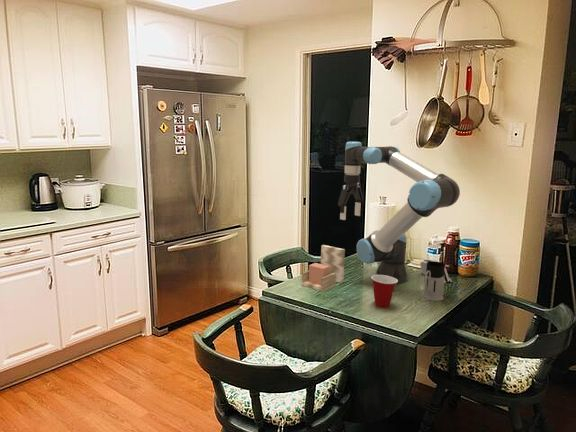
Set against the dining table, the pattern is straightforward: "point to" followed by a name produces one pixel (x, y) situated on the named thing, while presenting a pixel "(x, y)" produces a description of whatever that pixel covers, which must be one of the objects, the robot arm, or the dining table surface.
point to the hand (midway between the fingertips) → (350, 217)
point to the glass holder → (434, 281)
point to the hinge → (424, 266)
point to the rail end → (317, 272)
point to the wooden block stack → (336, 271)
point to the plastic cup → (383, 289)
